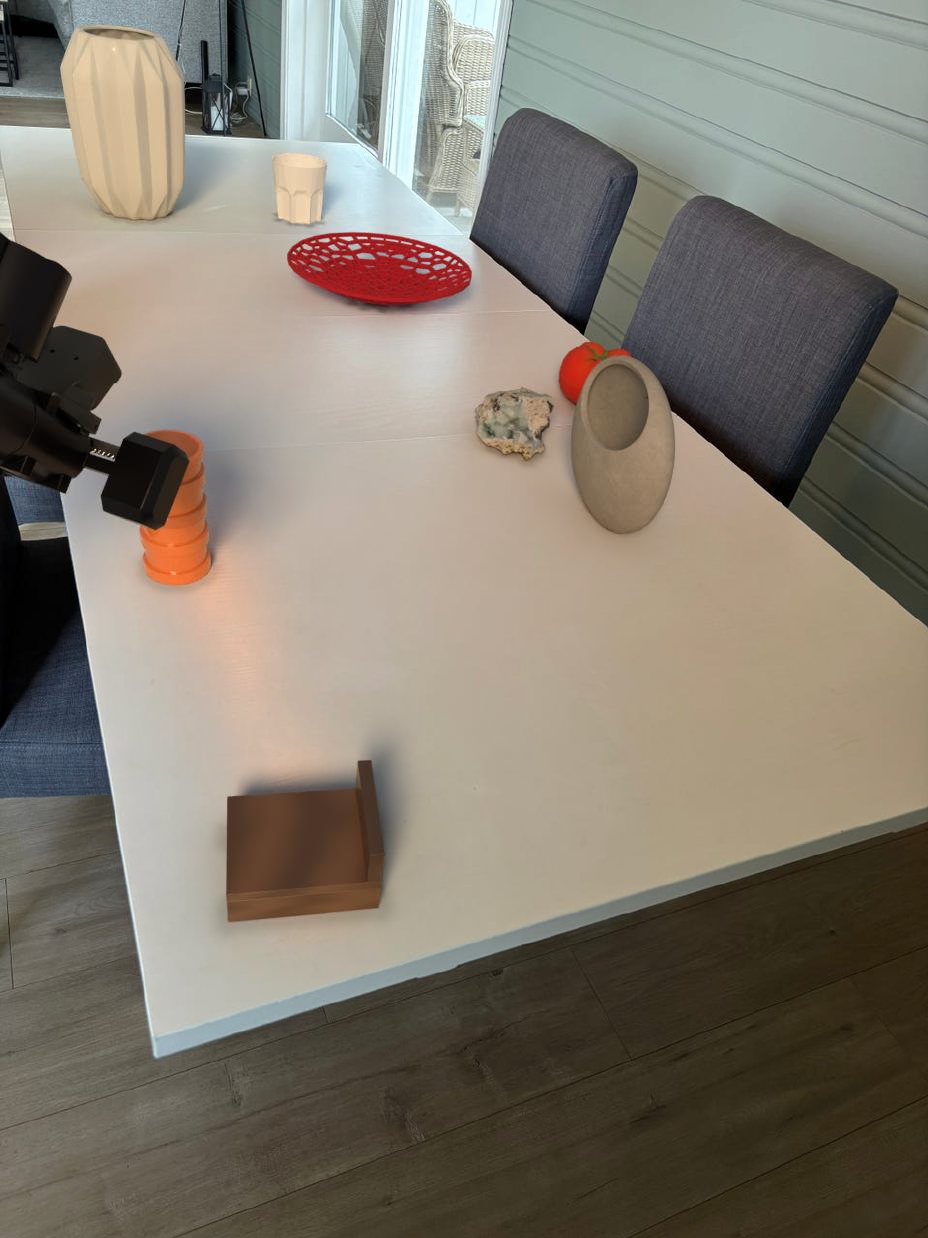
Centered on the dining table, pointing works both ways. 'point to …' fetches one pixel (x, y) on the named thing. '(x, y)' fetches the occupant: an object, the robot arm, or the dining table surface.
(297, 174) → the cup
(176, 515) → the orange ribbed tumbler
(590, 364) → the tomato
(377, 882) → the bookend
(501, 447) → the mineral specimen
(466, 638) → the dining table surface
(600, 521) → the planter
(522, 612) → the dining table surface
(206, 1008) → the dining table surface
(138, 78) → the vase
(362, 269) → the bowl
